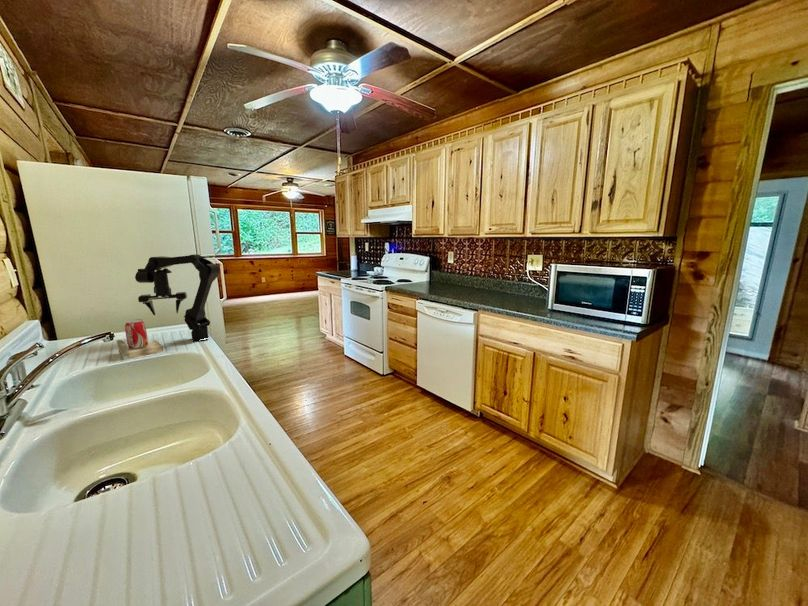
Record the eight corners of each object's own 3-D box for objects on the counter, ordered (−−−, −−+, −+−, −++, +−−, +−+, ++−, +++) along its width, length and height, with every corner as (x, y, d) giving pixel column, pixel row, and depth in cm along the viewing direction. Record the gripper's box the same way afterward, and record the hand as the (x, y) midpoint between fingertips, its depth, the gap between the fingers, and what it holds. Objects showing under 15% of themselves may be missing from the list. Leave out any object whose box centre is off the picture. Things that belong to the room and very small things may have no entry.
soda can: (147, 348, 143) (142, 321, 141) (126, 350, 140) (121, 323, 138) (150, 343, 149) (145, 318, 147) (130, 346, 146) (125, 320, 144)
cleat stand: (156, 345, 155) (154, 333, 153) (163, 351, 147) (161, 338, 146) (119, 353, 144) (116, 340, 143) (124, 359, 137) (122, 345, 136)
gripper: (186, 279, 170) (190, 309, 173) (141, 282, 161) (146, 313, 164) (183, 282, 160) (187, 313, 163) (135, 284, 152) (141, 317, 155)
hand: (166, 314), depth 161 cm, fingers open, 9 cm apart
